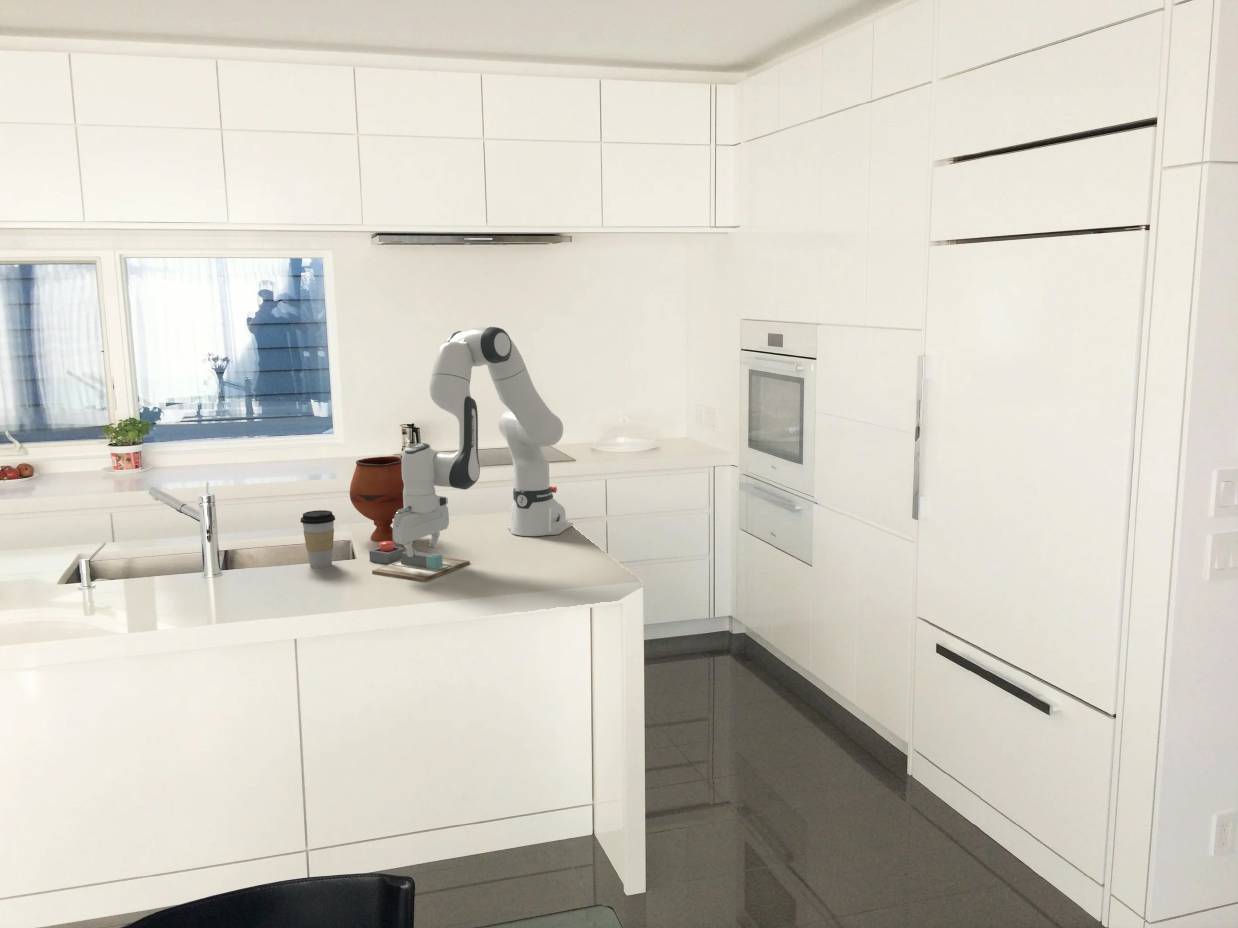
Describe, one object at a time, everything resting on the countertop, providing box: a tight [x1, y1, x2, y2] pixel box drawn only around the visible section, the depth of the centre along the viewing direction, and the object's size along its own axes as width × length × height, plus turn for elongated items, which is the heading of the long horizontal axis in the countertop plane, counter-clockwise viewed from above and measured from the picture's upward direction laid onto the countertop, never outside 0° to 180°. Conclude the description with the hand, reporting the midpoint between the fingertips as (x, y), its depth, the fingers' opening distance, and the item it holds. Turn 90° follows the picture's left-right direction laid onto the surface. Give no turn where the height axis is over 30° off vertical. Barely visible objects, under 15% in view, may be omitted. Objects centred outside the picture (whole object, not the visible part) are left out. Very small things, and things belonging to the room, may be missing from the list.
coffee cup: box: [300, 509, 336, 569], centre depth 282 cm, size 9×9×15 cm
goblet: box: [349, 455, 404, 543], centre depth 312 cm, size 19×19×25 cm
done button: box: [379, 540, 395, 553], centre depth 288 cm, size 4×4×3 cm
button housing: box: [368, 546, 406, 565], centre depth 289 cm, size 7×7×3 cm
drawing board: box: [371, 556, 471, 583], centre depth 279 cm, size 20×18×1 cm
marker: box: [401, 550, 443, 569], centre depth 279 cm, size 12×3×3 cm, turn 62°
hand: (422, 552), depth 279 cm, fingers open, 8 cm apart
